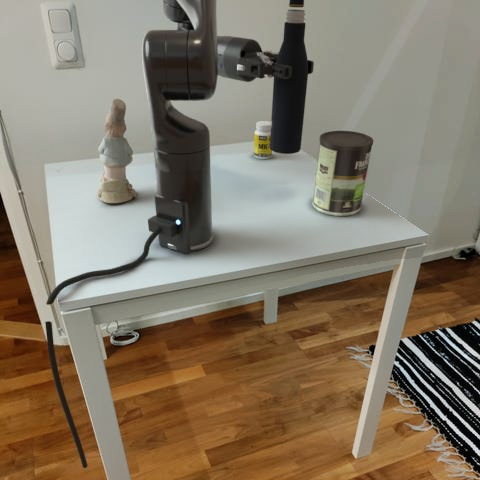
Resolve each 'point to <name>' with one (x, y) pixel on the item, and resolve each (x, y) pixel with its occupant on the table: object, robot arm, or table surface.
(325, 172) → the coffee can
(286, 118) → the dark blue water bottle
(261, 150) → the supplement bottle
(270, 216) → the table surface
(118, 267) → the robot arm
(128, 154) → the figurine
